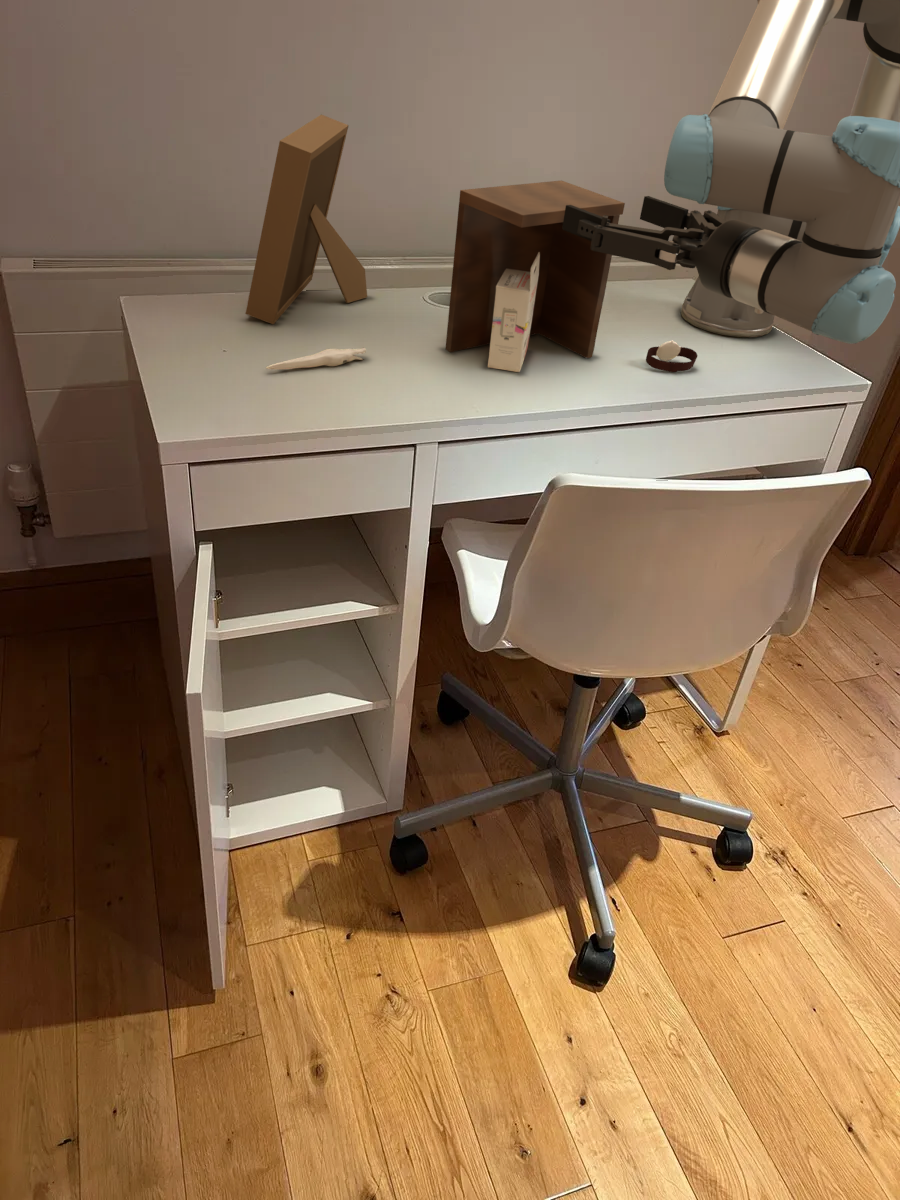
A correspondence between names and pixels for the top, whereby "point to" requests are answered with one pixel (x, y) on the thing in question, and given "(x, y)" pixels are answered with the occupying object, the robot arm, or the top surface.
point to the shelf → (528, 262)
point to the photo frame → (302, 222)
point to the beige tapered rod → (321, 359)
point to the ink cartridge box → (513, 317)
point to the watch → (670, 357)
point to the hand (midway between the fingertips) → (606, 212)
